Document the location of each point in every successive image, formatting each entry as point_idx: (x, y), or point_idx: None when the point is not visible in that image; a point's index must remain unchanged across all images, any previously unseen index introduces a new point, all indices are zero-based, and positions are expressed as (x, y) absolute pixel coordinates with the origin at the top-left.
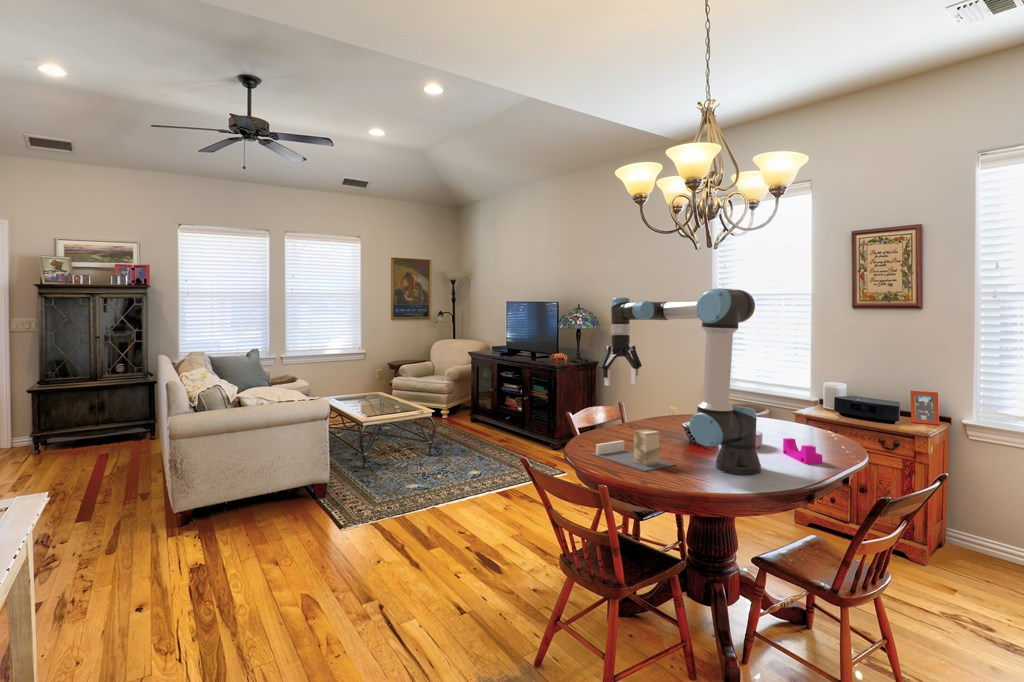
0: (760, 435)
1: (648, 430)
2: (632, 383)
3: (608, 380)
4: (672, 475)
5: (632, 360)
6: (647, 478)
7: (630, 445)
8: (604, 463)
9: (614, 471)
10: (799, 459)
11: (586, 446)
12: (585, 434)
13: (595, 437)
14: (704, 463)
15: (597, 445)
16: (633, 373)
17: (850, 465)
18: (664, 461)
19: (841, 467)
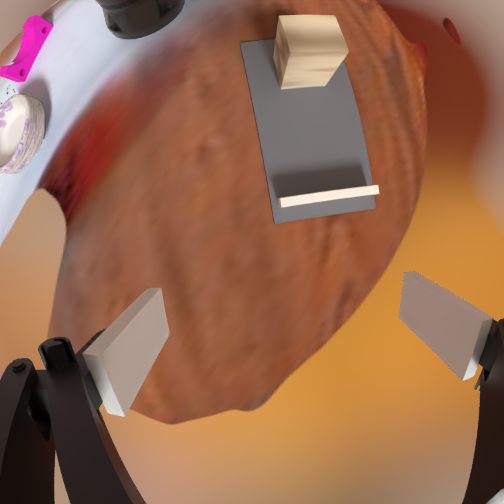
0: (6, 101)
1: (300, 37)
2: (165, 319)
3: (435, 284)
4: (295, 5)
5: (79, 452)
6: (351, 14)
7: (216, 256)
8: (383, 121)
9: (389, 68)
10: (41, 37)
11: (336, 289)
12: (258, 399)
13: (253, 368)
14: (168, 44)
15: (377, 187)
16: (131, 351)
17: (15, 38)
18: (247, 67)
19: None
